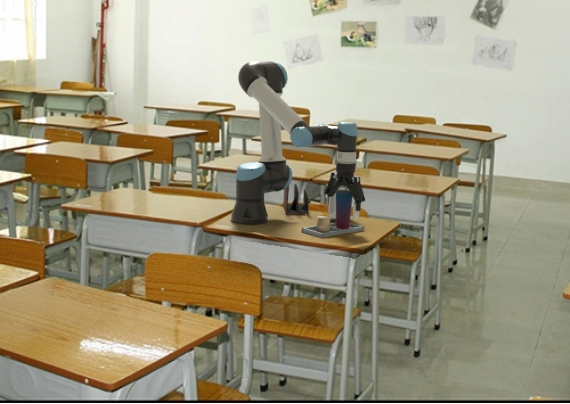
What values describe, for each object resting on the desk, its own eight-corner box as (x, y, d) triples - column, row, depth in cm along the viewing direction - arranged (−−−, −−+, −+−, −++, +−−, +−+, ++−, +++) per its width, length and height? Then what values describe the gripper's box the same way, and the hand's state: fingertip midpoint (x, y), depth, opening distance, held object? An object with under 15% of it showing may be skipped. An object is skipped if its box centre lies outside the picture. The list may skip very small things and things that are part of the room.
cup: (332, 230, 312) (334, 192, 309) (335, 226, 319) (336, 189, 316) (350, 231, 311) (352, 193, 308) (352, 227, 317) (354, 190, 314)
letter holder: (285, 215, 344) (286, 182, 341) (283, 206, 363) (284, 175, 360) (308, 215, 344) (310, 183, 341) (305, 206, 364) (306, 175, 361)
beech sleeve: (313, 232, 308) (314, 217, 307) (323, 230, 311) (323, 215, 310) (322, 234, 304) (323, 219, 303) (332, 233, 308) (332, 218, 307)
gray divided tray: (301, 234, 309) (301, 227, 308) (342, 227, 323) (343, 221, 323) (322, 240, 300) (322, 233, 300) (363, 232, 315) (363, 226, 314)
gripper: (317, 158, 317) (314, 211, 321) (362, 167, 298) (359, 222, 302) (330, 157, 321) (328, 209, 326) (376, 165, 303) (373, 220, 307)
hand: (343, 215), depth 314 cm, fingers open, 13 cm apart
